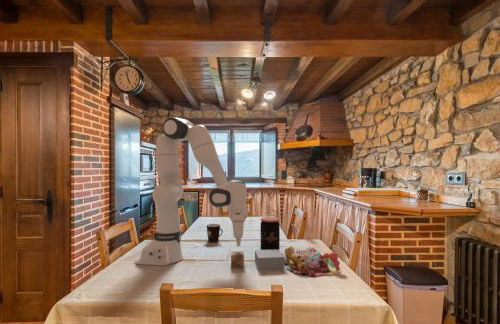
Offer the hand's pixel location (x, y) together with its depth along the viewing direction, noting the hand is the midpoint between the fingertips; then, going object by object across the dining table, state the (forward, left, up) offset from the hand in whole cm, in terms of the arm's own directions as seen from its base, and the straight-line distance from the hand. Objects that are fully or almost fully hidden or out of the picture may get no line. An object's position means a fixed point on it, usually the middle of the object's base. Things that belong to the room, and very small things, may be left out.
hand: (238, 243), depth 134 cm
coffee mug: (-16, +43, -11) cm, 47 cm away
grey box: (+14, 0, -11) cm, 18 cm away
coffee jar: (+17, +23, -11) cm, 31 cm away
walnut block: (-1, 0, -11) cm, 11 cm away
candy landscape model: (+34, -2, -11) cm, 36 cm away
